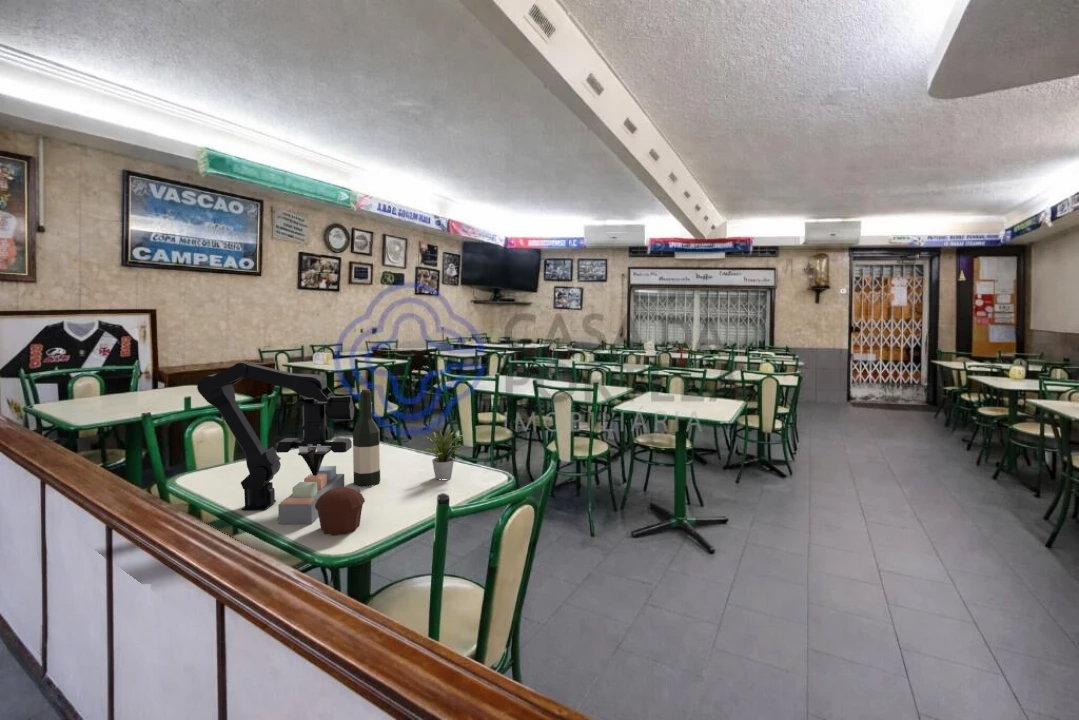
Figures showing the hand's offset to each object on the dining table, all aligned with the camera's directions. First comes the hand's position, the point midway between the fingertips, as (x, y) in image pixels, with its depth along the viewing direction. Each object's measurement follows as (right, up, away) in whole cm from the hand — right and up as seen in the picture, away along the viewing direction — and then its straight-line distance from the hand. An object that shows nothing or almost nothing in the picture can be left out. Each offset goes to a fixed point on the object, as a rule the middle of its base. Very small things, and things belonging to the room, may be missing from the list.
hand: (315, 475), depth 144 cm
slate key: (0, -3, +8) cm, 8 cm away
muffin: (+13, -10, -15) cm, 22 cm away
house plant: (+32, -7, +24) cm, 40 cm away
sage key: (0, -4, -7) cm, 8 cm away
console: (0, -8, -1) cm, 8 cm away
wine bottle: (+8, -7, +20) cm, 22 cm away
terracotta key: (0, -4, 0) cm, 4 cm away
